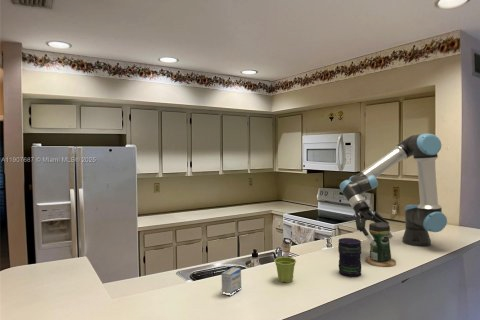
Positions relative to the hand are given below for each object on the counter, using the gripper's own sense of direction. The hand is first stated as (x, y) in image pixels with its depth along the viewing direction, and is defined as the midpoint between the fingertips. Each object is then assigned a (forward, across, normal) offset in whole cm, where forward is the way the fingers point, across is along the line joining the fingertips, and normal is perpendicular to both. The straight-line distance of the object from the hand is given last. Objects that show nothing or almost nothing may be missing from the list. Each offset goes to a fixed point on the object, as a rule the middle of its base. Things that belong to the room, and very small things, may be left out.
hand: (382, 239), depth 159 cm
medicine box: (+6, +80, -10) cm, 81 cm away
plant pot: (+6, +55, -11) cm, 56 cm away
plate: (+7, 0, -9) cm, 12 cm away
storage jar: (+11, +24, -6) cm, 27 cm away
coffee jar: (+7, 0, -9) cm, 11 cm away
